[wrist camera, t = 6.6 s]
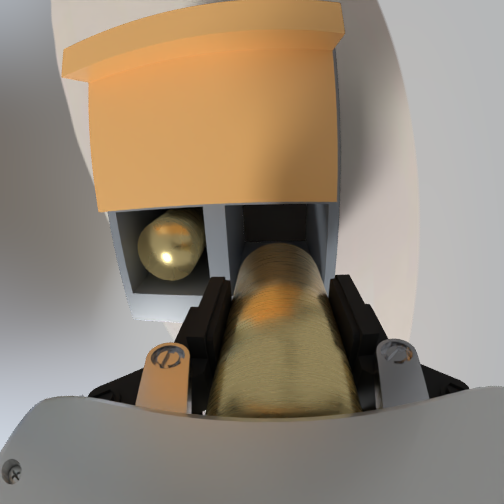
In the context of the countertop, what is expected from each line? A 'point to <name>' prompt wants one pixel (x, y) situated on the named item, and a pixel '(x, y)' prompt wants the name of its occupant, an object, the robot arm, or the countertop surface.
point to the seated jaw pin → (173, 243)
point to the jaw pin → (281, 343)
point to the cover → (213, 105)
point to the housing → (214, 250)
